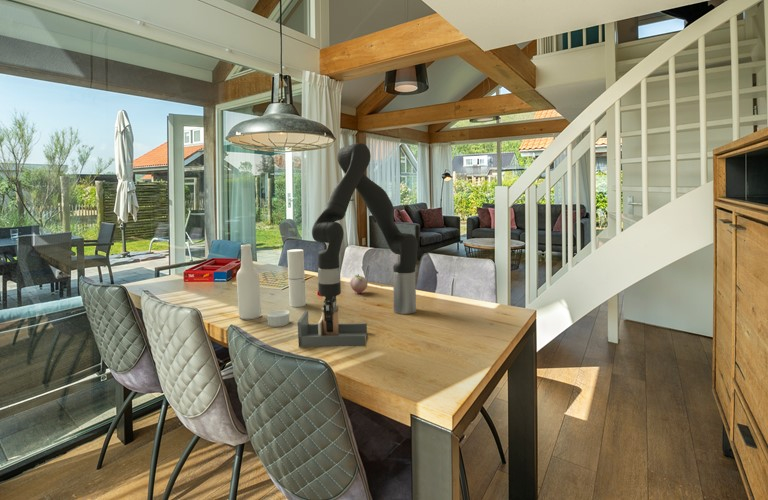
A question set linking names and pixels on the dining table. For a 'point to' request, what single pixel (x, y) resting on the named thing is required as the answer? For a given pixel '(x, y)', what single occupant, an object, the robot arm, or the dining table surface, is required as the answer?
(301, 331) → the lane
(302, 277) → the cylindrical container
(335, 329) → the jar
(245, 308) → the alcohol
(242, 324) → the dining table surface
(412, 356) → the dining table surface
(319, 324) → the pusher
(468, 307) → the dining table surface
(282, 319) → the ramekin
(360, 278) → the decorative fruit
